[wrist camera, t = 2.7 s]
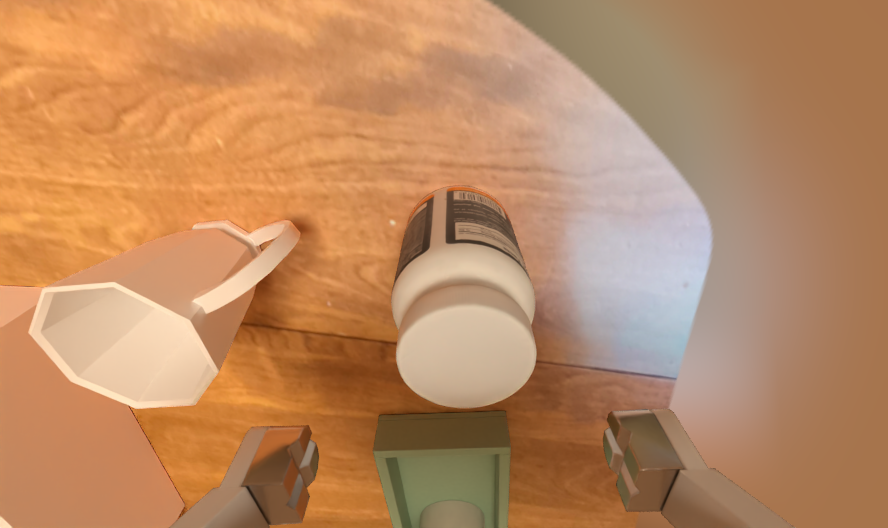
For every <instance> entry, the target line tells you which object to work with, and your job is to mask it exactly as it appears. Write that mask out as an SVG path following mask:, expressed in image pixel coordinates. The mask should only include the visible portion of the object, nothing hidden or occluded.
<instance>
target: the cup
mask: <svg viewBox="0 0 888 528" xmlns="http://www.w3.org/2000/svg"><path fill="white" fill-rule="evenodd" d="M300 235H301V233H300V232H299V231H298V229H297V228H296V227H295V226H294V224H293V223H292V222H291V221H289V220H283V221H278V222H274V223H270V224H268V225H265V226H263V227H260V228H258V229H256V230H254V231H253V232H251V233H248V232H246V231H245V230H243V229H241V228H240V227H238V226H237V225H235V224H233V223H232V222H230V221H228V220H220V221H209V222H198V223H197V224H195V225H194V226H193V228H192V230H186V231H181V232H178V233H174V234H171V235H168V236H164V237H161V238H158V239H154V240H151V241H148V242H146V243H143V244H141V245H139V246H137V247H135V248H132V249H130V250H128V251H126V252H124V253H121V254H119V255H117V256H115V257H113V258H110V259H108V260H106V261H104V262H101V263H99V264H96V265H94V266H92V267H89V268H87V269H85V270H82V271H80V272H77V273H75V274H73V275H71V276H68V277H66V278H64V279H62V280H59V281H57V282H55V283H53V284H50V285H48V286H46V287H44V288H43V289H42V292H41V295H40V298H39V301H38V304H37V307H36V310H35V313H34V316H33V320H32V323H31V326H30V329H29V332H28V333H29V334H30V335H31V336H32V337H33V339H34V340H35V341H36V342H37V343H38V344H39V346H40V347H41V348H42V349H43V350H44V351H45V353H46V354H47V355H48V356H49V357H50V358H51V360H52V361H53V362H54V363H55V364H56V365H57V366H58V368H59V369H60V370H61V371H62V372H63V373H64V375H65V376H66V377H67V378H68V379H69V380H70V381H71V382H73V383H75V384H78V385H80V386H83V387H85V388H88V389H90V390H92V391H95V392H97V393H100V394H102V395H104V396H107V397H109V398H112V399H114V400H117V401H119V402H121V403H124V404H126V405H129V406H131V407H133V408H136V409H141V408H157V407H174V406H190V405H195V404H196V403H197V401H198V400H199V399H200V397H201V396H202V394H203V393H204V392H205V390H206V389H207V388H208V386H209V385H210V383H211V382H212V381H213V379H214V378H215V376H216V375H217V374H218V372H219V371H220V368H221V366H222V364H223V362H224V360H225V358H226V356H227V353H228V351H229V349H230V347H231V344H232V342H233V340H234V338H235V335H236V333H237V331H238V328H239V326H240V324H241V322H242V320H243V318H244V316H245V314H246V312H247V310H248V307H249V305H250V303H251V301H252V299H253V295H254V292H255V288H256V284H257V283H258V282H259V281H260V280H262V279H263V278H264V277H265V276H266V275H268V274H269V273H270V272H271V271H272V270H273V269H274V268H275V267H276V266H277V265H278V264H279V263H280V262H281V261H282V260H283V259H284V258H285V257H286V256H287V255H288V253H289V252H290V251H291V250H292V249H293V247H294V246H295V245H296V244H297V242H298V241H299V238H300ZM272 239H274V240H273V242H272V243H270V244H269V245H268V246H267V247H266V248H265V249H264V250H263V251H261V249H260V246H259V245H260V244H262V243H264V242H266V241H269V240H272Z"/></svg>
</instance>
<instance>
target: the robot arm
mask: <svg viewBox="0 0 888 528" xmlns="http://www.w3.org/2000/svg"><path fill="white" fill-rule="evenodd" d="M607 422H608V424H609V426H610V427H609V428H607V429H606V430H605V431H604V436H603V447H604V452H605V456H606V460H607V462H608V465H609V468H610V469H612V470H613V471H614V472H615V473H616V474H617V475H618V480H617V483H616V486H617V488H618V491H619V494H620V496H621V499H622V501H623V504H624V506H625V509H626V511H627V512H641V511H642V512H645V511H647V512H649V511H662V512H661V514H662V515H663V516H664V517H665V518H666V519H667V520H668V521H669V522H670V523H671V524H672V525H673V526H674V527H675V528H795V527H793V526H792V525H791V524H789V523H788V522H787V521H785V520H784V519H783V518H781V517H780V516H778V515H777V514H776V513H774V512H773V511H772V510H770V509H769V508H768V507H766V506H765V505H763V504H762V503H761V502H760V501H758V500H757V499H755V498H754V497H753V496H751V495H750V494H749V493H747V492H746V491H744V490H743V489H742V488H740V487H739V486H738V485H736V484H735V483H733V482H732V481H731V480H729V479H728V478H727V477H726V476H724V475H723V474H721V473H720V472H719V471H717V470H716V469H714V468H713V469H712V468H710V469H709V468H708V467H707V465H706V464H705V462H704V460H703V459H702V457H701V456H700V454H699V452H698V451H697V449H696V448H695V446H694V444H693V443H692V441H691V440H690V438H689V436H688V435H687V433H686V431H685V430H684V428H683V427H682V425H681V424H680V422H679V420H678V419H677V417H676V415H675V414H674V412H672V411H671V410H670V409H655V410H648V409H643V410H627V411H611V412H610V413H609V414H608V418H607ZM311 434H312V432H311V430H310V427H309V425H301V426H261V427H251V429H250V430H249V431H248V432H247V433H246V435H245V437H244V439H243V441H242V443H241V445H240V447H239V449H238V451H237V453H236V455H235V457H234V459H233V461H232V463H231V465H230V467H229V469H228V471H227V473H226V475H225V477H224V479H223V481H222V483H221V485H220V487H217V488H213V489H212V490H211V491H209V492H208V493H207V494H206V495H205V496H204V497H203V498H202V499H200V500H199V501H198V502H197V503H196V504H195V505H194V506H193V507H191V508H190V509H189V510H188V511H187V512H186V513H185V514H184V515H182V516H181V517H180V518H179V519H178V520H177V521H176V522H175V523H173V524H172V525H171V526H170V527H169V528H270V526H269V525H281V524H296V523H302V521H303V518H304V514H305V511H306V508H307V504H308V501H309V497H310V496H309V493H308V490H307V487H308V486H309V485H310V484H311V483H312V482H313V481H314V479H315V476H316V473H317V469H318V460H319V453H318V447H317V445H316V443H315V442H314V441H312V440H311V439H310V437H311Z"/></svg>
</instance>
